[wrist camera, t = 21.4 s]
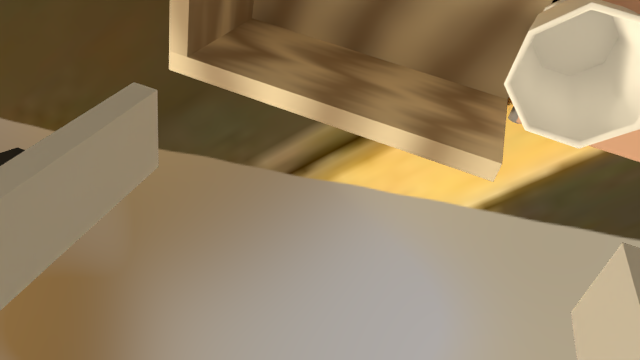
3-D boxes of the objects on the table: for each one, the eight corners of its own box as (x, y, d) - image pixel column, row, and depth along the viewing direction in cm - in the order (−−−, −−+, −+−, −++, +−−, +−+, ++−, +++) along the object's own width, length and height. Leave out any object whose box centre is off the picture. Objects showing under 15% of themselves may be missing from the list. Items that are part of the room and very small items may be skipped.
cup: (509, -25, 29) (504, 10, 23) (720, -49, 26) (785, -15, 19) (507, 90, 33) (503, 149, 26) (693, 83, 29) (741, 149, 23)
